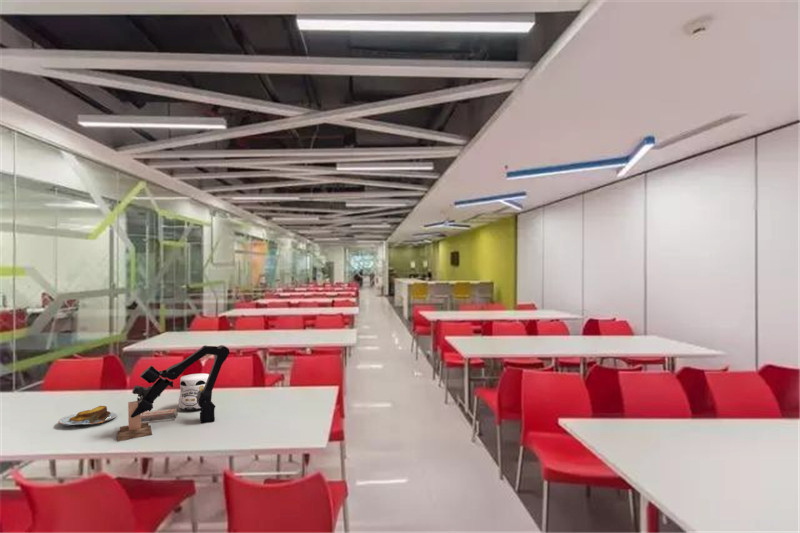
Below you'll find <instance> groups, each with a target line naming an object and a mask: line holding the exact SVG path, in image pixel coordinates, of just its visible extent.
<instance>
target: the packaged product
mask: <svg viewBox="0 0 800 533" xmlns="http://www.w3.org/2000/svg"><path fill="white" fill-rule="evenodd" d="M178 416H179V412H178V409H177V408H170V409H168V408H167V409H158V410H157V409H156V410H151V411H146V412H143V413H141V423H145V422H148V424H152V423H153V424H154V423H162V422H172V421H173V422H174V421H175V420H176V419H177V417H178Z"/></svg>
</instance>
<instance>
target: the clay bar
mask: <svg viewBox="0 0 800 533" xmlns="http://www.w3.org/2000/svg"><path fill="white" fill-rule="evenodd" d="M138 402H139V401H137V400H134V401H128V402H127V405H128V407H127V408H128V409H127V411H128V412H127V413H128V415H127V417H128V418H127V419H128V425H129V431H130V430H136V429H141V415H142V413H141V414H139V415H137V416H135V417H133V418H132V417H131V415H132V414H133V412H134V411H135V409H136V408H137V407H138Z"/></svg>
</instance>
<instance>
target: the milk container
mask: <svg viewBox="0 0 800 533" xmlns="http://www.w3.org/2000/svg"><path fill="white" fill-rule="evenodd" d="M209 374H210V373H203V372H202V373H191V374H187V375H186V374H185V375H182V376H181V377H180V380H179V381H180V382H179V384H180V385H179V387H180V391H179V397H178V406H179V408H180V410H183V411H198V410H201V409H202V408H201V407H200V406H199V405H198V403H197V398H196V397H197V395H198V392H199V390H200V391H202V390H203V389H204V387H205V384H206V382H207V379H208V376H209ZM211 402H213V397H212V398H211Z"/></svg>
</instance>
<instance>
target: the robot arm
mask: <svg viewBox="0 0 800 533" xmlns="http://www.w3.org/2000/svg"><path fill="white" fill-rule="evenodd" d="M206 355H213V356H214V360H213V364H212V367H211V369H210V371H209V373H208V374H209V376H208V379H207V382H206V384H205V387H204V389H203V390H202V391H200V390H199V392H198V395H197V397H196V398H197V403H198V405H199V406H200V407H201V408H202V409H200V412H199V422H200V424H204V423H205V424H206V423H211V422H212V423H213V422H215V421H216V419H215V418H216V417H215V414H216V413H215V409H216V408H215V407H216V405H215V403H214V402H213V401H212V402H211V398H212V399H213V390H214V386H215V385H216V382H217V379H218V376H219V374H220V372H221V368H222V366H223V364H224V362H226V360H227V358H228V357H229V355H230V349H229V347H227V346H225V345H223V344H221V345H218V346H216V345H214V346H213V345H212V346H211V345H203V346H201V347H200V348H199V349H198V350H196V351H194V353H191V354H190V355H189V356H187V357H186V358H184V359H183V360H182V361H180V362H177V363H175V364H172V365H170V366H169V367H167V369H163V370H158V369H156V368H155V367H154V365H150V366H149V367H148V368H146V369H145V370H143V371H142V372H141V374H140V376H139V377H140V378H141V379H143V380H144V381H146V382H147V383H148V384H152V385H151V386H148V387H144V386H140V385H138V384H137V385H134V387H133V389H132V390H131V391H132V392H131V393H132V394H133V395H137V397H136V401H139V402H138V407H137V408H136V409H135V411H134V412H133V414H132V415H131V417H132V418H133V417H135V416H137V415H139V414H141V415H142V413H143V412H146V411H153V408H154V403H155V402H154V401H156V399H157V398H158V397H161V394H162V393H163V392H164V391H165V390H166V389H167V388H168V387H170V388H173V387H174V380H177V379H178V378H179V377H180V376H181V375H182V374H183V373H184V371H186V369H188V368H189V367H191V366H192V365H193V364H195V363H197V361H199V360H200V359H201V358H203V357H205V356H206Z"/></svg>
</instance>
